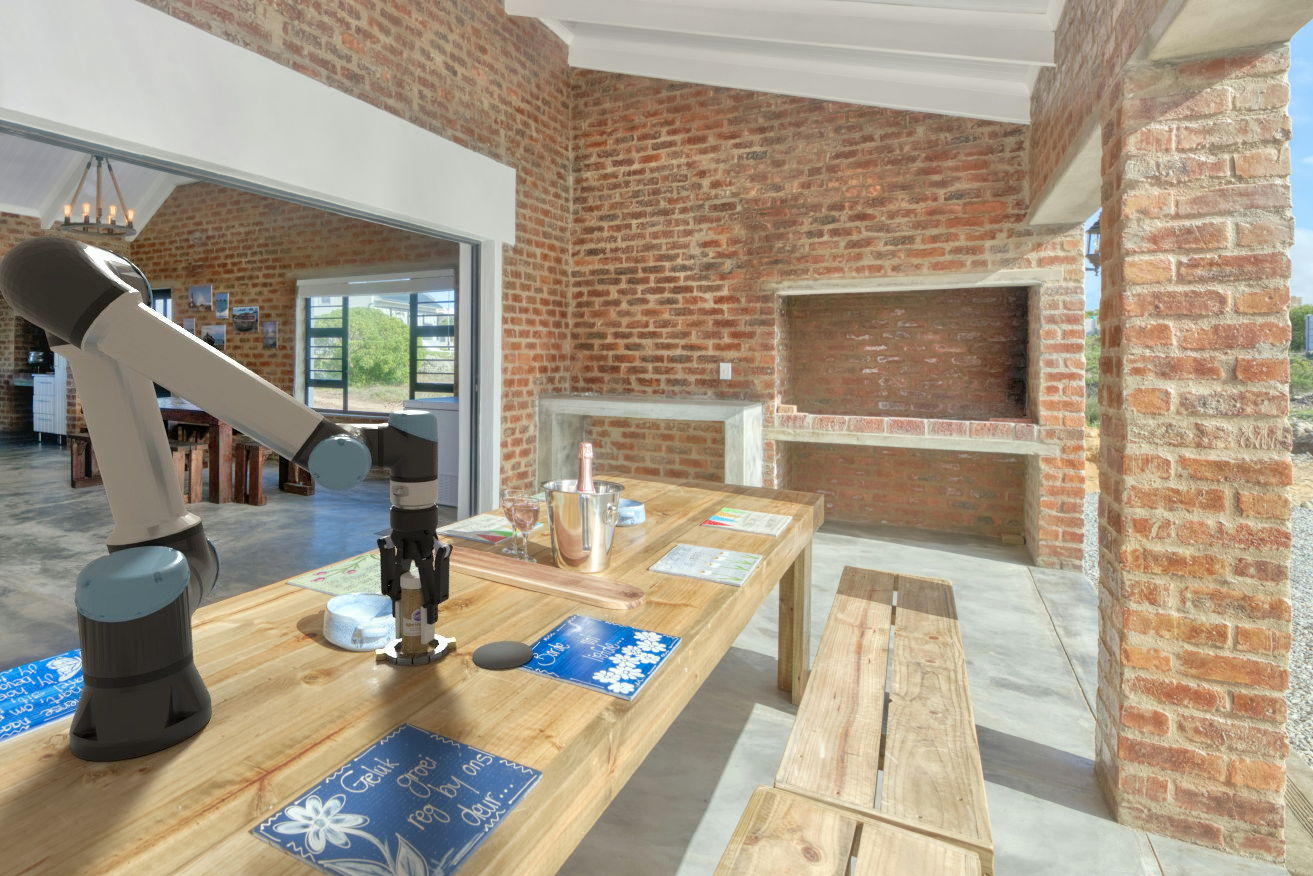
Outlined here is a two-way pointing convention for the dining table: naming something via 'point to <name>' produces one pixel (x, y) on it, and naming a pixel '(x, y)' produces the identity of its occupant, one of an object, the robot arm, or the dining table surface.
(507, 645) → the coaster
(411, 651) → the sprinkles bottle
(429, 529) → the robot arm
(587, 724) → the dining table surface
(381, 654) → the collar
